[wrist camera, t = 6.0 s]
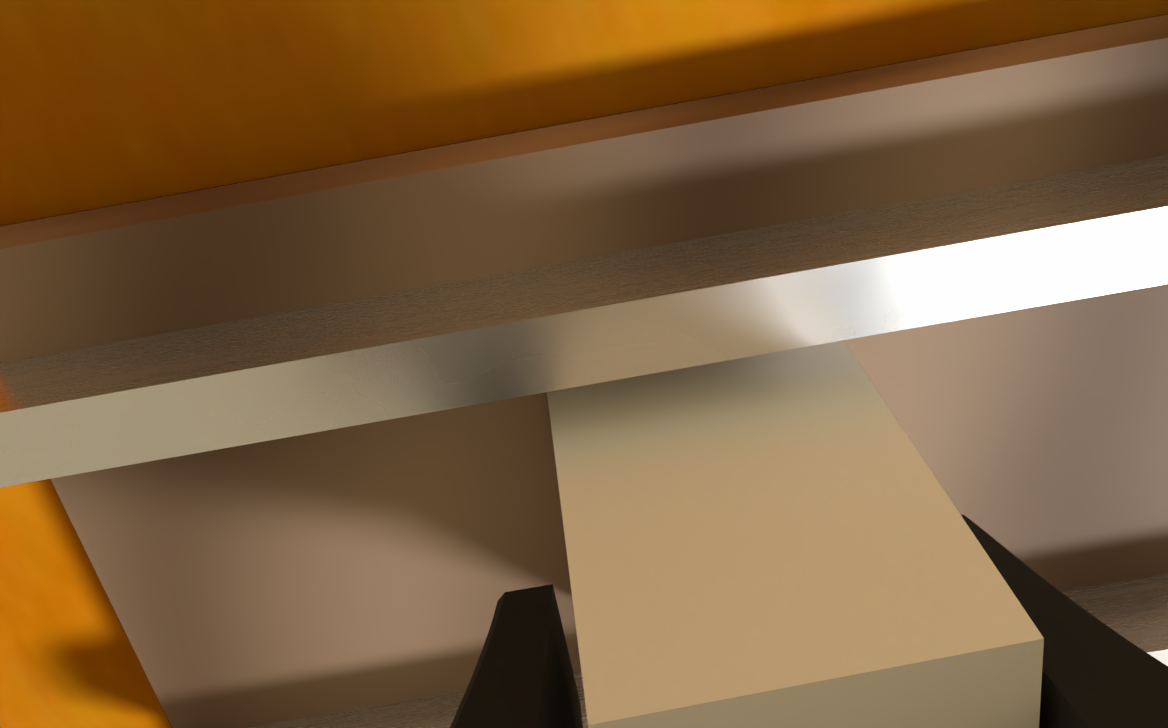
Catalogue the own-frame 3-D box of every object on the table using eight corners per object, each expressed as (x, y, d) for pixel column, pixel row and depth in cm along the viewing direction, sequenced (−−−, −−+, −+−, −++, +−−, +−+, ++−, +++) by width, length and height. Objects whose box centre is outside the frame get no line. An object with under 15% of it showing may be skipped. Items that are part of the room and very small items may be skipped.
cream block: (836, 331, 15) (1043, 639, 9) (849, 560, 16) (1027, 924, 11) (546, 386, 15) (587, 725, 9) (593, 609, 16) (649, 995, 11)
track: (1342, -18, 14) (1501, 18, 12) (1238, 628, 19) (1333, 738, 17) (-22, 230, 14) (-121, 310, 12) (240, 793, 19) (205, 921, 17)
